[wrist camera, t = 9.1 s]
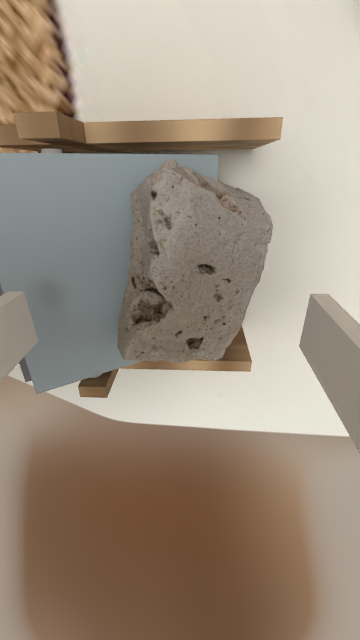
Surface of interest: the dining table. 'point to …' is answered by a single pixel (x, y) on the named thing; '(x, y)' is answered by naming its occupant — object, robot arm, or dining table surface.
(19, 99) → the dining table surface
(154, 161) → the blue-grey flat square block
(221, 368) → the frame
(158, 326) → the stone
